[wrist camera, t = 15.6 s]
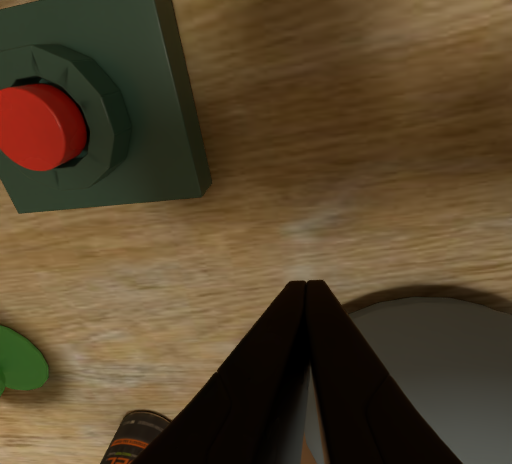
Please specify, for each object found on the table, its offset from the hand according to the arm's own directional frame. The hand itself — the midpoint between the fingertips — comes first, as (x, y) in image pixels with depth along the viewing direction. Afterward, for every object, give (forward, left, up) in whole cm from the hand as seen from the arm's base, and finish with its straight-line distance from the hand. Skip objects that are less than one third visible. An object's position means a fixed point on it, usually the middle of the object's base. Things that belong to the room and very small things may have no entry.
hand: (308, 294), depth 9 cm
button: (+12, -4, -8) cm, 15 cm away
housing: (+12, -4, -12) cm, 17 cm away
